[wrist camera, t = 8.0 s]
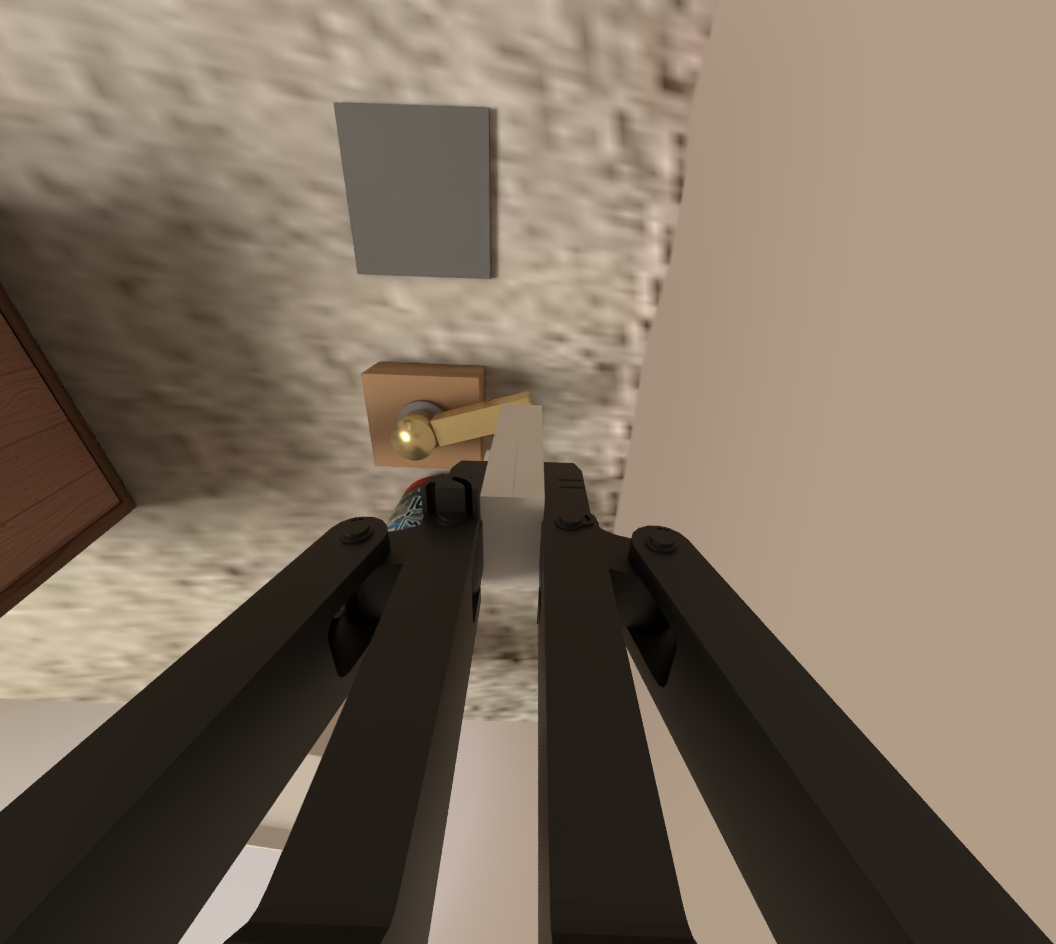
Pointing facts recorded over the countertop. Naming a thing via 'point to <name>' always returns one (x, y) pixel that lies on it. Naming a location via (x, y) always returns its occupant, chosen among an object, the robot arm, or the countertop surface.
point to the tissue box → (45, 469)
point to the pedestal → (421, 407)
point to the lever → (448, 426)
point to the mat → (417, 188)
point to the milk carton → (291, 797)
